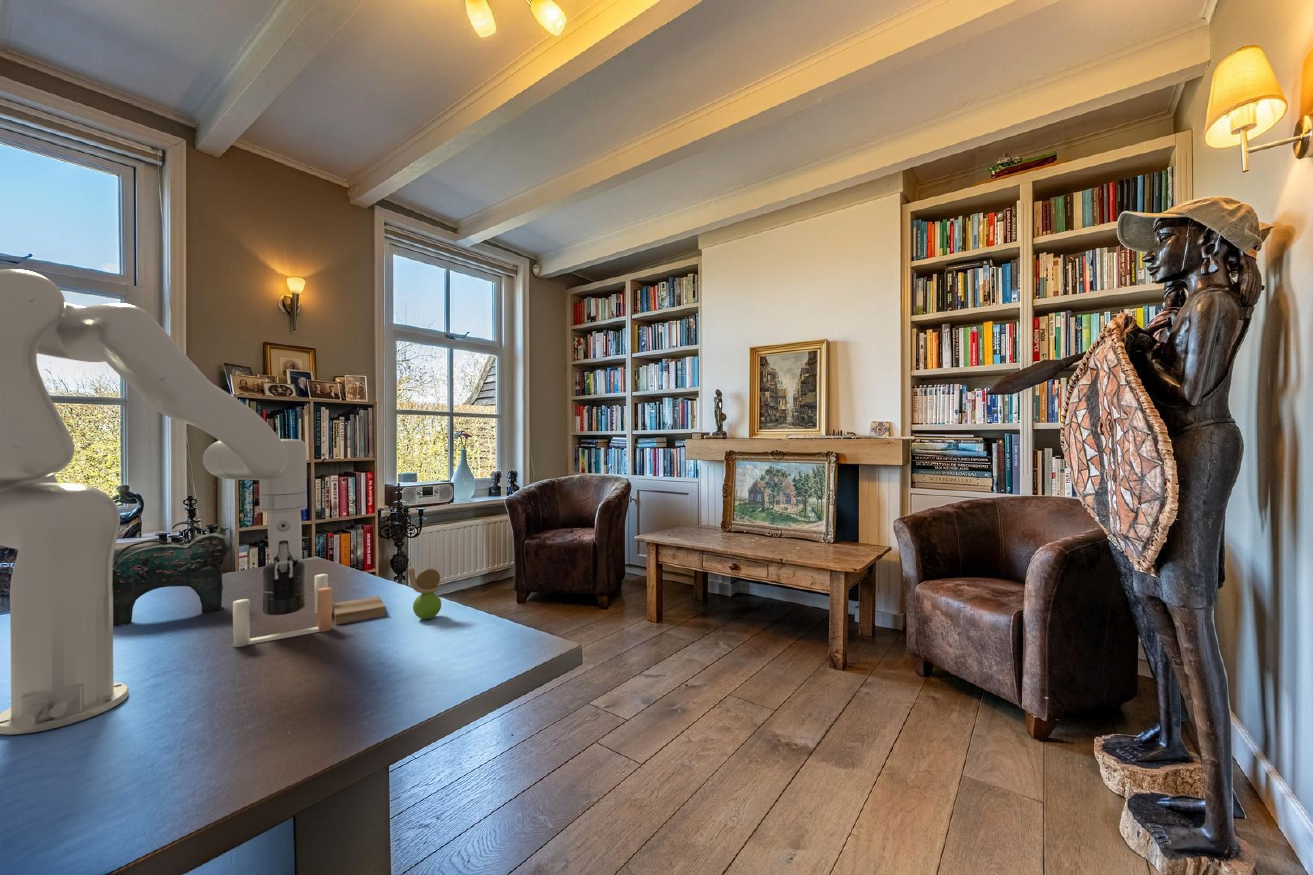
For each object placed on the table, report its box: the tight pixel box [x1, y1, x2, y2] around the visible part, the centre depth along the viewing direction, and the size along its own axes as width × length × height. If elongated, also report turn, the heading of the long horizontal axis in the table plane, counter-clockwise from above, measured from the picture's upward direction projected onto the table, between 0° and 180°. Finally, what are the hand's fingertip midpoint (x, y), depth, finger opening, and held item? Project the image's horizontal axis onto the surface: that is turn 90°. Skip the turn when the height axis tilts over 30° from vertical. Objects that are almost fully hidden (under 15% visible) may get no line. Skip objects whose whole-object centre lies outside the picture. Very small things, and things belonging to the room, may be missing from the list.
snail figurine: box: [407, 562, 442, 620], centre depth 111 cm, size 5×6×12 cm
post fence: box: [232, 573, 333, 648], centre depth 107 cm, size 15×15×8 cm
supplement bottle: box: [262, 547, 307, 616], centre depth 103 cm, size 7×7×12 cm
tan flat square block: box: [332, 596, 386, 625], centre depth 114 cm, size 9×9×2 cm
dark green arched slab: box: [113, 521, 232, 628], centre depth 114 cm, size 20×6×20 cm, turn 126°
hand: (284, 593), depth 103 cm, fingers closed on supplement bottle, 6 cm apart
